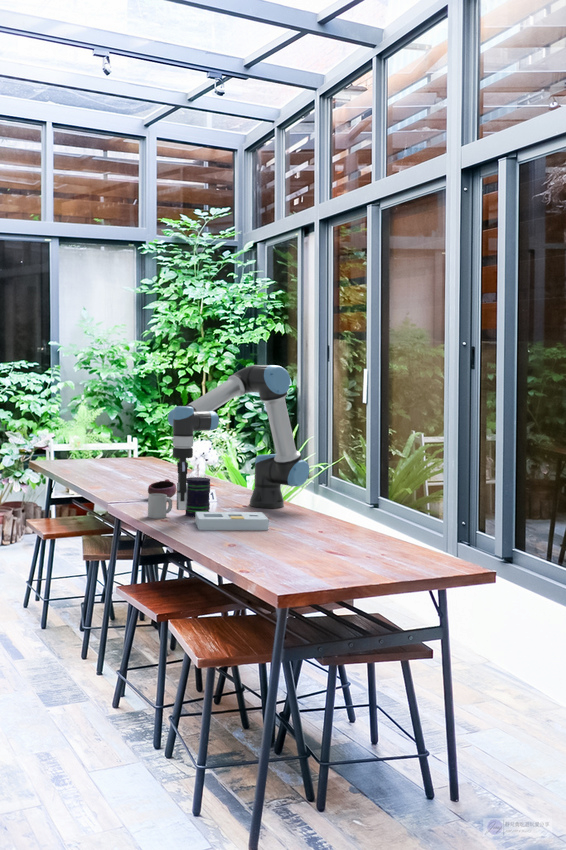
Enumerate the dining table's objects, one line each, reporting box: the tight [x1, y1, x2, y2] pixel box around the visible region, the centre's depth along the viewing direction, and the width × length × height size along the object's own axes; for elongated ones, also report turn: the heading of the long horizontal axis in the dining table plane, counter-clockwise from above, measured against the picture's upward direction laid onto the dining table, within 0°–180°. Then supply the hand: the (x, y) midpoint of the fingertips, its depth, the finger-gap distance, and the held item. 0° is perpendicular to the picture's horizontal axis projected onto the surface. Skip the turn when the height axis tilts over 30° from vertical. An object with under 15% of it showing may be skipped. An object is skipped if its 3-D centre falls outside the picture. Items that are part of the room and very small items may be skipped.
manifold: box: [194, 511, 270, 531], centre depth 308 cm, size 16×26×4 cm, turn 101°
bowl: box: [147, 478, 177, 499], centre depth 369 cm, size 16×13×8 cm
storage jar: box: [184, 476, 211, 518], centre depth 329 cm, size 10×10×15 cm
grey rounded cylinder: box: [176, 482, 188, 511], centre depth 308 cm, size 4×4×10 cm
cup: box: [147, 493, 173, 520], centre depth 322 cm, size 7×10×9 cm
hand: (181, 508), depth 308 cm, fingers closed on grey rounded cylinder, 4 cm apart
